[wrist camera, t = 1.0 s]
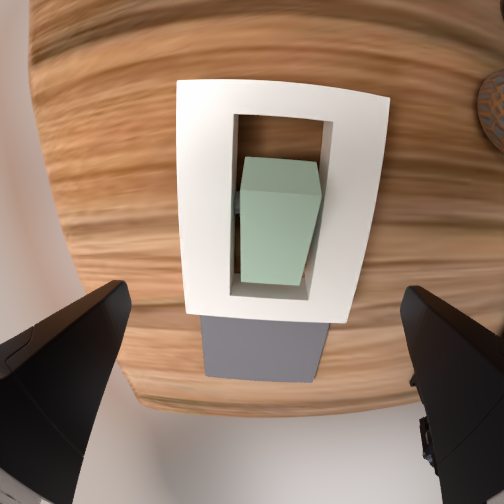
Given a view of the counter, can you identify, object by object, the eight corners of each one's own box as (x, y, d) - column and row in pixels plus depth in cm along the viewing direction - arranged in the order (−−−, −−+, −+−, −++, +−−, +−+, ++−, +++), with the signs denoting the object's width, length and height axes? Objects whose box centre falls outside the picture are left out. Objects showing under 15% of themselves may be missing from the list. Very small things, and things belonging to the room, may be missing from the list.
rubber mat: (331, 308, 25) (332, 313, 24) (311, 378, 29) (312, 382, 29) (200, 300, 25) (199, 304, 25) (206, 371, 30) (205, 376, 29)
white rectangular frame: (373, 97, 17) (390, 97, 14) (339, 299, 24) (345, 323, 22) (190, 83, 17) (177, 80, 15) (194, 290, 25) (186, 313, 22)
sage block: (316, 162, 16) (321, 196, 15) (298, 251, 23) (299, 285, 21) (245, 156, 16) (240, 189, 15) (244, 248, 23) (240, 281, 21)
